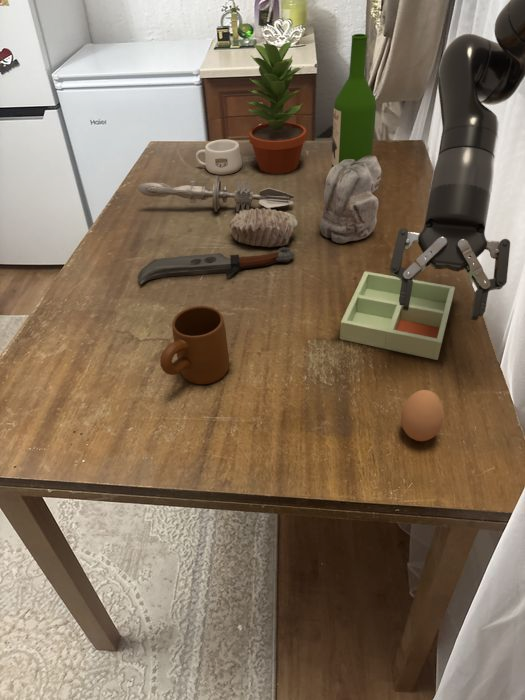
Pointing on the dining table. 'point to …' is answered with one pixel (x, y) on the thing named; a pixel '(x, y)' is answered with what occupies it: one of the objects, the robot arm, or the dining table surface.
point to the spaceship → (219, 194)
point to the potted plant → (276, 113)
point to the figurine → (351, 200)
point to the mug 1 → (197, 346)
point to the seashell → (263, 227)
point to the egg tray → (397, 315)
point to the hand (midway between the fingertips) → (439, 314)
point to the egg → (422, 415)
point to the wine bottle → (354, 110)
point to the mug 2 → (221, 157)
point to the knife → (209, 264)
